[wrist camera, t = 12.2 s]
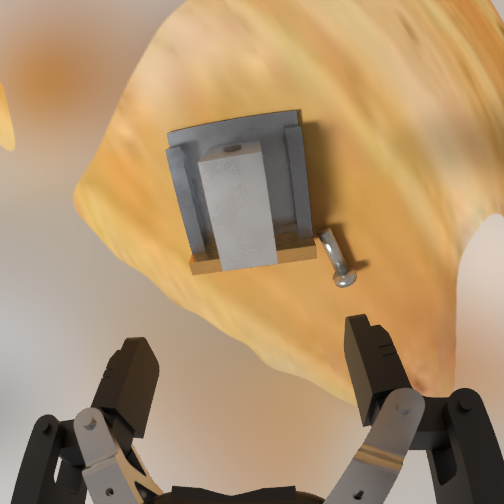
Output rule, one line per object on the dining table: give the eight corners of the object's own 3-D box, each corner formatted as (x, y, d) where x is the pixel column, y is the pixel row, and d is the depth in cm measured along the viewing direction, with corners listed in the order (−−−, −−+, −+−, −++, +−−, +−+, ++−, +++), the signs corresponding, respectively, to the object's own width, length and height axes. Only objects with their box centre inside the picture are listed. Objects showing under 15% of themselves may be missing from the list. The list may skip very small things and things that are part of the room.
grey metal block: (209, 145, 29) (197, 159, 23) (259, 137, 28) (261, 148, 22) (228, 236, 34) (222, 270, 28) (273, 230, 33) (278, 263, 27)
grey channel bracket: (167, 132, 28) (155, 138, 25) (296, 110, 27) (302, 112, 24) (198, 256, 35) (192, 275, 32) (310, 240, 34) (316, 258, 31)
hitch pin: (311, 233, 34) (315, 245, 31) (333, 222, 33) (339, 233, 31) (332, 277, 37) (338, 290, 34) (353, 267, 36) (359, 280, 34)
